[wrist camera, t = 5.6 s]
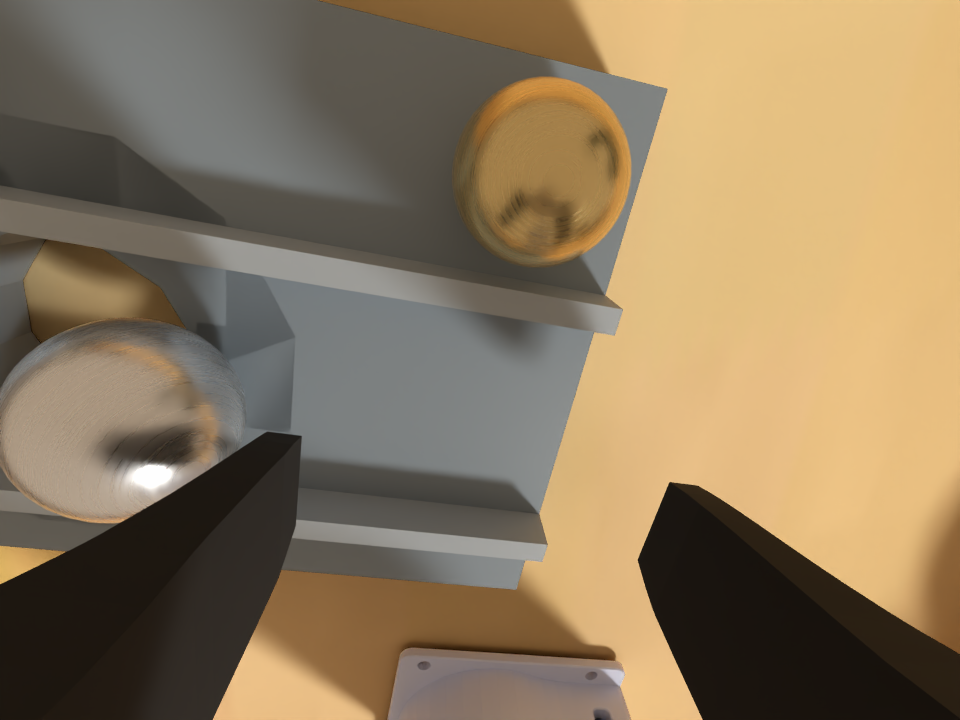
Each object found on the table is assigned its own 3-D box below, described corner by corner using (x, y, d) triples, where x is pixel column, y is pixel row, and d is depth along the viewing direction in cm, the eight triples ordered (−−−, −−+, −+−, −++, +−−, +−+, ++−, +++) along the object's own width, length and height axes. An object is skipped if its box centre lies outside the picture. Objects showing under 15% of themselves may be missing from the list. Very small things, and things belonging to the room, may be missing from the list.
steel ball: (21, 452, 6) (-91, 314, 7) (87, 611, 8) (-10, 481, 10) (288, 350, 9) (172, 266, 11) (284, 486, 11) (189, 401, 13)
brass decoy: (617, 110, 10) (694, 87, 7) (576, 263, 11) (626, 300, 8) (465, 74, 9) (476, 31, 6) (439, 237, 10) (438, 266, 7)
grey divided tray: (623, 103, 12) (705, 75, 8) (506, 532, 17) (523, 633, 13) (-159, -88, 9) (-542, -250, 6) (-23, 477, 15) (-181, 583, 11)
